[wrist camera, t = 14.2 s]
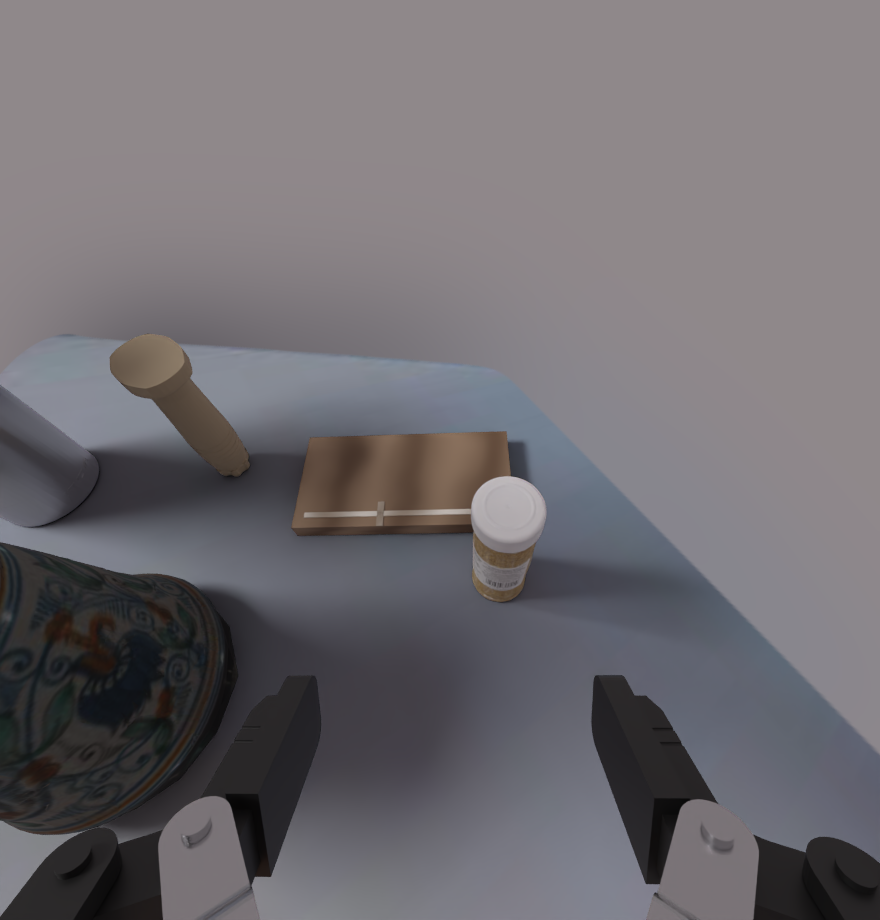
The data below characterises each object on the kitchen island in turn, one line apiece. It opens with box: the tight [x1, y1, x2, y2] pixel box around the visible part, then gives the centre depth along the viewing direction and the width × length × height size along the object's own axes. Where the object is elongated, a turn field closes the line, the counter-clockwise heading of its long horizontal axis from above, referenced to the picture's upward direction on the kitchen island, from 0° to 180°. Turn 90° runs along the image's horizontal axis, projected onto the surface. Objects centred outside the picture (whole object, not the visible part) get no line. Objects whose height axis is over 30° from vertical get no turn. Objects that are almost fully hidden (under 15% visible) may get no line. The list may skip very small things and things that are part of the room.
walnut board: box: [291, 431, 511, 536], centre depth 42 cm, size 20×10×2 cm, turn 90°
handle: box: [110, 334, 250, 477], centre depth 39 cm, size 5×6×15 cm
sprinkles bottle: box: [471, 476, 546, 602], centre depth 32 cm, size 5×5×14 cm
